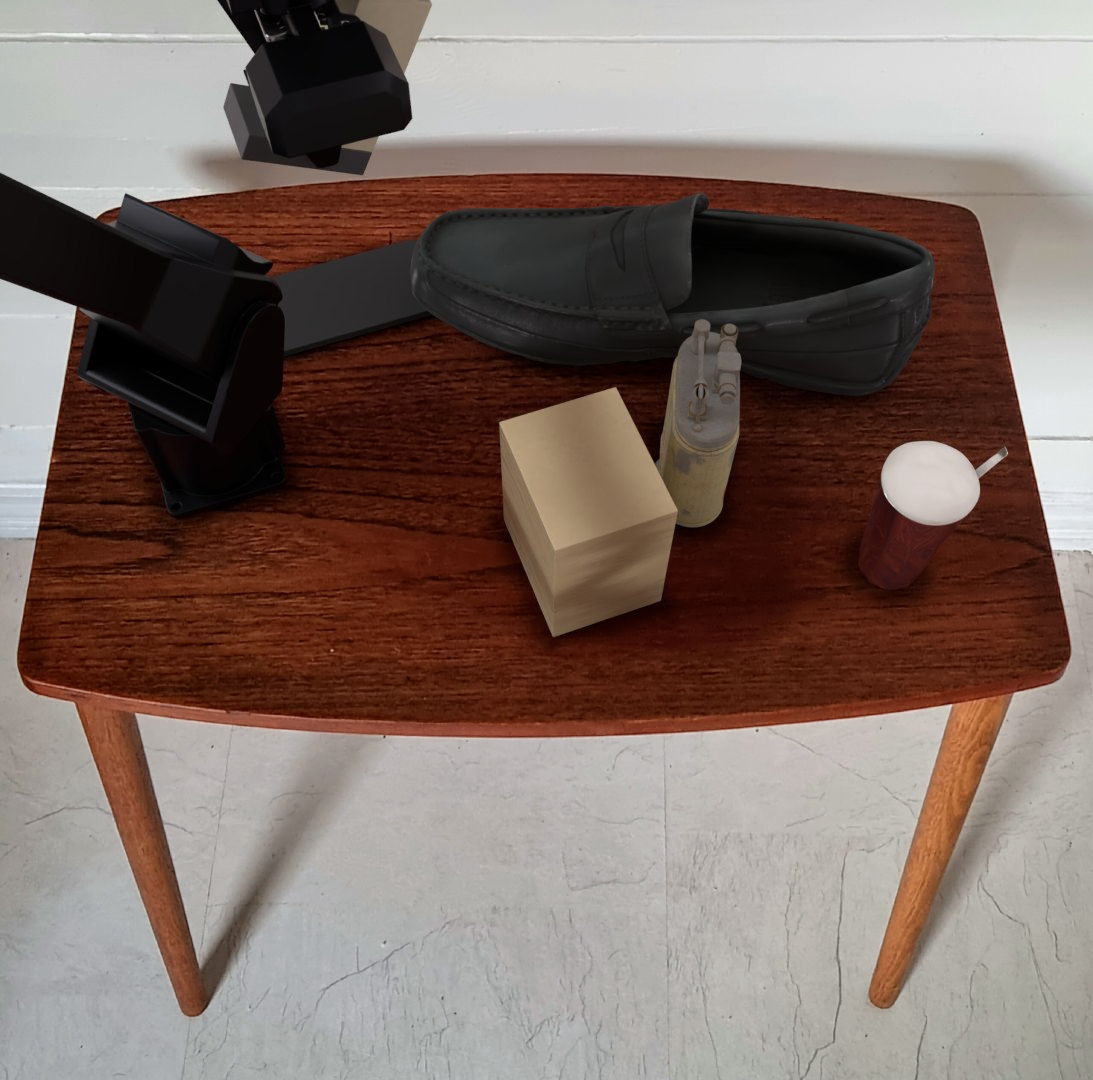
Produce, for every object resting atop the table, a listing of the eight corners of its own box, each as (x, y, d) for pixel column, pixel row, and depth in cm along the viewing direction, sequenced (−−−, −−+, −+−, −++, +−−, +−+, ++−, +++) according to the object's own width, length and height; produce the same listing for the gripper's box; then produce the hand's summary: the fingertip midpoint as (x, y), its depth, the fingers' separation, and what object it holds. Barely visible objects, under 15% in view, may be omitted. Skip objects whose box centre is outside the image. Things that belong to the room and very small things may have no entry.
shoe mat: (246, 367, 71) (245, 362, 70) (224, 295, 73) (222, 289, 73) (444, 312, 73) (443, 306, 72) (414, 244, 75) (414, 238, 75)
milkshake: (958, 593, 63) (1024, 491, 55) (858, 607, 63) (909, 506, 54) (931, 519, 66) (990, 410, 57) (834, 532, 65) (880, 424, 57)
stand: (552, 637, 62) (555, 550, 54) (503, 519, 66) (498, 421, 58) (661, 601, 63) (678, 510, 55) (606, 486, 67) (616, 386, 59)
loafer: (427, 245, 75) (412, 113, 67) (899, 279, 74) (948, 148, 65) (402, 378, 70) (383, 254, 61) (909, 416, 69) (964, 295, 60)
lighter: (722, 531, 65) (750, 422, 57) (651, 526, 65) (668, 417, 57) (722, 423, 69) (749, 304, 60) (655, 418, 69) (672, 300, 60)
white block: (363, 176, 63) (432, 4, 56) (241, 160, 59) (299, -26, 53) (342, 125, 65) (407, -47, 58) (222, 107, 61) (276, -79, 54)
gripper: (523, -79, 46) (526, 222, 59) (381, -317, 55) (412, -7, 68) (233, -15, 44) (304, 282, 57) (134, -273, 53) (216, 37, 66)
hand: (316, 136), depth 62 cm, fingers closed on white block, 4 cm apart
